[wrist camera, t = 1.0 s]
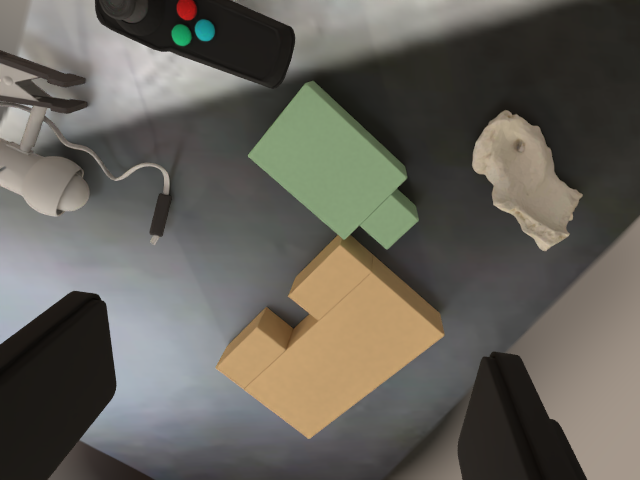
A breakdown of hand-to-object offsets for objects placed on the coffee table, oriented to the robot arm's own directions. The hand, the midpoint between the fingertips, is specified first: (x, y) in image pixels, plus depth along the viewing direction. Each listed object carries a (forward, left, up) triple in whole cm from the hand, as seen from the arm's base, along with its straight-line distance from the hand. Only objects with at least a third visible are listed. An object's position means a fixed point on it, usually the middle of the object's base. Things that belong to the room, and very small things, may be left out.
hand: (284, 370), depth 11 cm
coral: (-8, +11, -27) cm, 30 cm away
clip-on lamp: (+15, -17, -27) cm, 36 cm away
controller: (-1, -13, -27) cm, 30 cm away
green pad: (+1, 0, -27) cm, 27 cm away
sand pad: (+14, +10, -27) cm, 32 cm away
